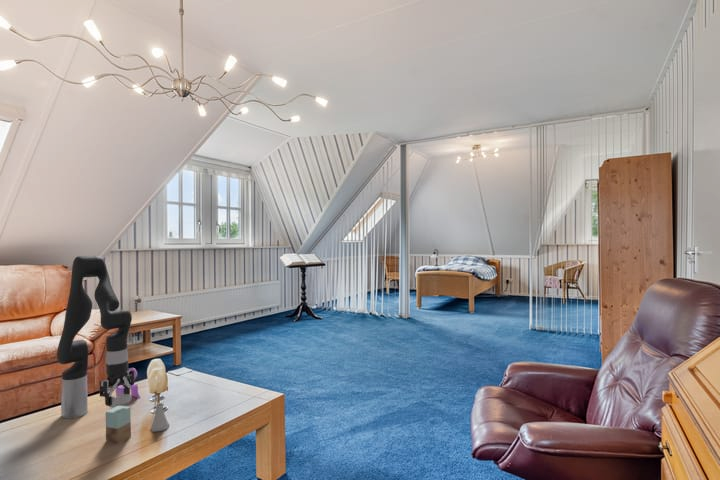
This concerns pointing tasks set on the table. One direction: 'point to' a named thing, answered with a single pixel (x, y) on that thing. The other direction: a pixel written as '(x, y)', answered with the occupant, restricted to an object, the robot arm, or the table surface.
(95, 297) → the robot arm
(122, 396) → the mannequin head
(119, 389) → the purple figure shape
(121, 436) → the tower bottom
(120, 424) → the tower top
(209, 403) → the table surface
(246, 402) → the table surface
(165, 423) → the flask
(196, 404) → the table surface
